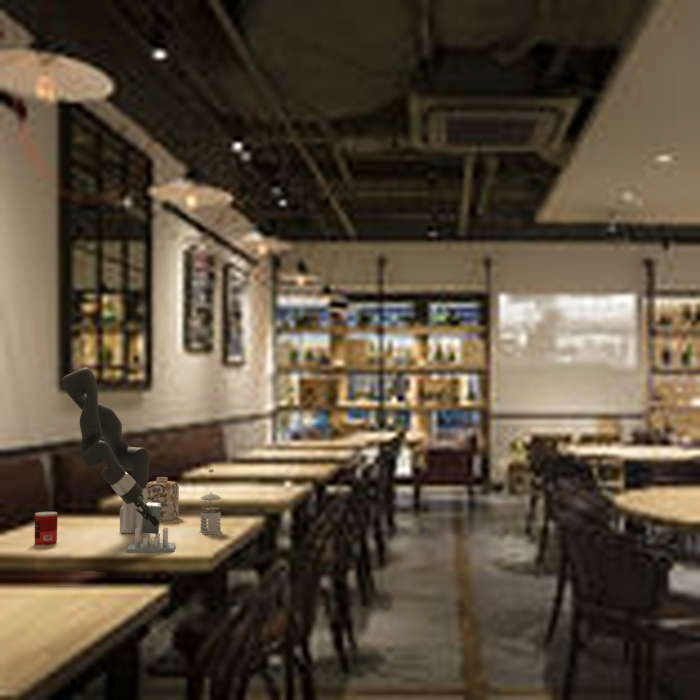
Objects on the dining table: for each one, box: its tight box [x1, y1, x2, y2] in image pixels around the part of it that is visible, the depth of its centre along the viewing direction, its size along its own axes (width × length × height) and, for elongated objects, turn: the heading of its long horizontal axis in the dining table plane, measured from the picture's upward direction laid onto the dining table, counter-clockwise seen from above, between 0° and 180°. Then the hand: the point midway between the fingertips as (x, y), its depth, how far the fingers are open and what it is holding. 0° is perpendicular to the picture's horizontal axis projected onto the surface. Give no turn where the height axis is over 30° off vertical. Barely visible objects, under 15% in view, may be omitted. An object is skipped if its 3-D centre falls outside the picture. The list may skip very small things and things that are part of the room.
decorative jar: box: [146, 476, 180, 522], centre depth 412 cm, size 12×12×18 cm
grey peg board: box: [126, 526, 176, 553], centre depth 338 cm, size 16×12×7 cm
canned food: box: [34, 511, 58, 546], centre depth 348 cm, size 8×8×11 cm
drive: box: [141, 502, 161, 535], centre depth 344 cm, size 6×5×10 cm
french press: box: [198, 468, 224, 535], centre depth 376 cm, size 10×12×25 cm
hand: (156, 521), depth 344 cm, fingers open, 5 cm apart
